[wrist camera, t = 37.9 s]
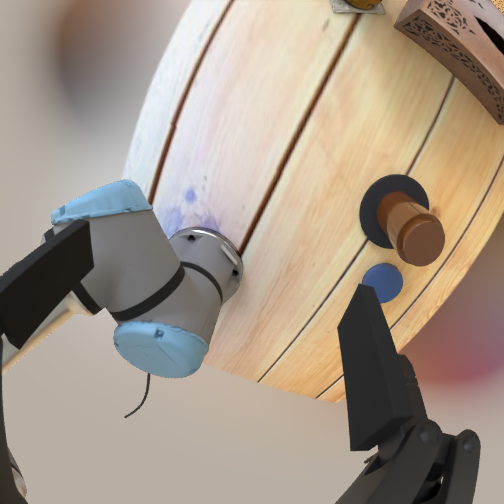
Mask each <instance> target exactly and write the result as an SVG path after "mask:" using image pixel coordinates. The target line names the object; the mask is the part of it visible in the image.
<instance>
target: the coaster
mask: <svg viewBox="0 0 504 504" xmlns="http://www.w3.org/2000/svg"><path fill="white" fill-rule="evenodd" d="M396 191H401V192H405V193H407V194H409V195H410V196H411V197H412V198H414V199H415V200H416V201H417V202H419V203H420V204H421V205H422V206H424V207H425V208H426V209H427V210H428V211H429V201H428V198H427V195H426V192H425V191H424V189H423V188H422V186H421V185H420V184H419V183H418V182H417V181H415V180H414V179H412V178H410V177H408V176H405V175H389V176H385V177H383V178H381V179H379V180H378V181H376V182H375V183H374V184H373V185H372V186H371V187H370V188H369V189H368V190H367V192H366V193H365V195H364V197H363V200H362V202H361V206H360V223H361V226H362V229H363V231H364V233H365V235H366V236H367V237H368V239H369V240H370V241H371V242H373V243H374V244H376V245H378V246H380V247H383V248H387V249H394V247H393V246H392V244H391V243H390V241H389V240H388V238H387V237H386V235H385V234H384V232H383V231H382V229H381V228H380V227H379V225H378V223H377V219H376V211H377V207H378V205H379V203H380V201H381V200H382V199H383V198H384V197H385V196H386V195H388V194H389V193H392V192H396Z"/></svg>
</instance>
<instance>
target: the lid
mask: <svg viewBox="0 0 504 504" xmlns="http://www.w3.org/2000/svg"><path fill="white" fill-rule="evenodd" d="M362 284H363V285H367V286H372V287H374V289H375V292H376V294H377V297H378V300H379V302H380V304H381V303H386V302H389V301H391V300H392V299H394V298H395V297H396V296H397V295H398V294H399V292H400V291H401V289H402V286H403V278H402V275H401V273H400V272H399V270H398V269H397V268H396V267H395V266H394V265H392V264H388V263H382V264H378V265H376V266H374V267H372V268H371V269H369V270H368V271H367V272H366V274H365V275H364V277H363V280H362Z"/></svg>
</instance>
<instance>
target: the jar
mask: <svg viewBox="0 0 504 504" xmlns="http://www.w3.org/2000/svg"><path fill="white" fill-rule="evenodd" d="M376 219H377V223H378V225H379V227H380V228H381V229H382V231H383V232H384V234H385V235H386V237H387V238H388V240H389V241H390V243H391V244H392V246H393V247H394V249H395V250H396V252H397V253H398V255H399V256H400V258H401V259H402V260H403V261H405V262H406V263H409V264H412V265H415V266H426V265H428V264H430V263H432V262H433V261H435V260H436V259H437V258H438V257H439V255H440V254H441V252H442V250H443V247H444V243H445V234H444V230H443V227H442V224H441V223H440V221H439V220H438V219H437V218H436V217H435V216H434V215H433V214H432V213H431V212H429V211H428V210H427V209H426V208H425V207H424V206H422V205H421V204H420V203H419V202H417V201H416V200H415V199H414V198H412V197H411V196H410V195H409V194H407V193H405V192H401V191H396V192H392V193H389V194H388V195H386V196H385V197H384V198H383V199H382V200H381V201H380V203H379V205H378V207H377V211H376Z"/></svg>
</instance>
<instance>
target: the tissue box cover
mask: <svg viewBox="0 0 504 504" xmlns="http://www.w3.org/2000/svg"><path fill="white" fill-rule="evenodd" d="M394 27H395V28H396V29H398V30H399V31H401V32H402V33H404V34H405V35H406V36H408V37H409V38H410V39H412V40H413V41H414V42H416V43H417V44H418V45H420V46H421V47H422V48H424V49H425V50H426V51H427V52H428V53H430V54H431V55H432V56H433V57H435V58H436V59H437V60H438V61H439V62H440V63H441V64H443V65H444V66H445V67H446V68H447V69H448V70H449V71H450V72H451V73H452V74H453V75H455V76H456V77H457V78H458V79H459V80H460V81H461V82H462V83H463V84H464V85H465V86H466V87H467V88H468V89H469V90H470V92H471V93H472V94H473V95H474V96H475V97H476V98H477V99H478V100H479V101H480V102H481V104H482V105H483V106H484V107H485V108H486V109H487V111H488V112H489V113H490V114H491V115H492V117H493V118H494V119H495V120H496V122H497V123H498V124H499V125H504V15H503V14H502V12H501V11H500V10H499V9H498V8H497V7H496V6H495V5H494V4H493V3H492V2H491V1H490V0H408V1H407V3H406V5H405V7H404V9H403V10H402V12H401V14H400V16H399V18H398V20H397V21H396V23H395V25H394Z"/></svg>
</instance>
